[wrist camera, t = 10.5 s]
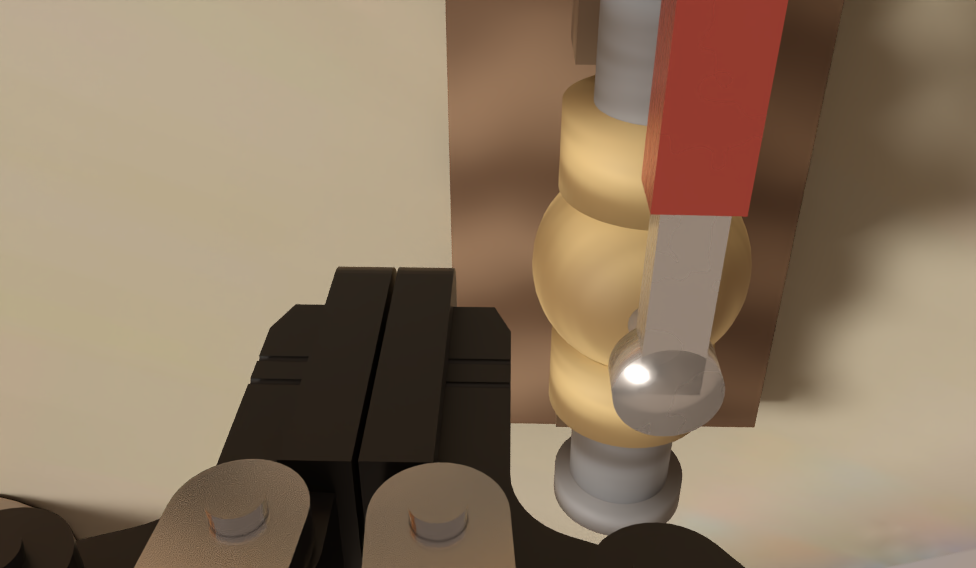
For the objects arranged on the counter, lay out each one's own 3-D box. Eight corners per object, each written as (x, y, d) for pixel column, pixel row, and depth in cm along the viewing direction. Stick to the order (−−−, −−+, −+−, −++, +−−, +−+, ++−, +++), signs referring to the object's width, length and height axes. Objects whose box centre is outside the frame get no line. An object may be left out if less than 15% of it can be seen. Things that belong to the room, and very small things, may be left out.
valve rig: (745, 399, 44) (815, 615, 34) (458, 394, 45) (441, 607, 34) (852, -138, 31) (1019, -55, 21) (446, -139, 32) (411, -58, 21)
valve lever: (706, 400, 28) (718, 445, 27) (603, 398, 28) (608, 441, 27) (806, -149, 20) (833, -135, 18) (660, -152, 20) (673, -138, 18)
